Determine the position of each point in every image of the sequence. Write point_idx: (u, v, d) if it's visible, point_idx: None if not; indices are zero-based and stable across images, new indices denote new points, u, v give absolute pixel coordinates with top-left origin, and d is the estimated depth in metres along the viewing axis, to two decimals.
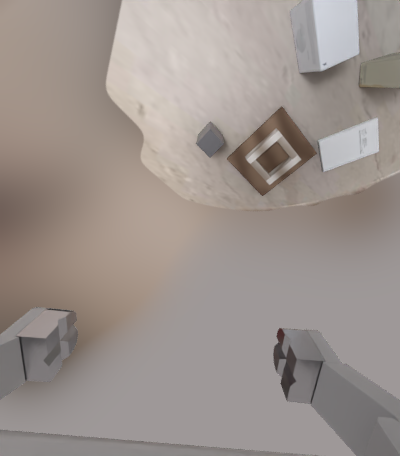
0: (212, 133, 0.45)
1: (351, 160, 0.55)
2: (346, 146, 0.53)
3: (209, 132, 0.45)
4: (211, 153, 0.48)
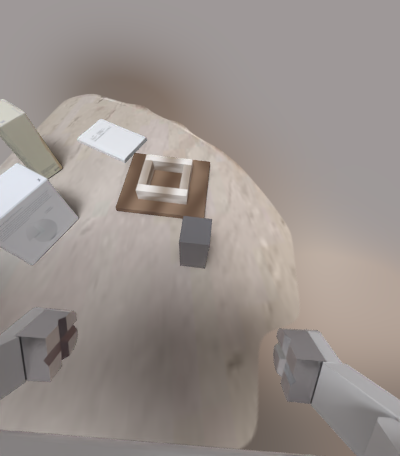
0: (182, 235, 0.30)
1: (121, 128, 0.52)
2: (112, 139, 0.50)
3: (183, 239, 0.30)
4: (205, 220, 0.31)
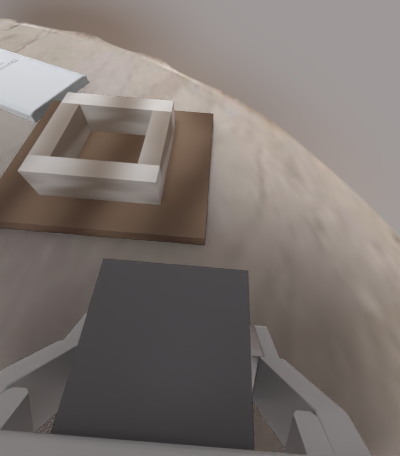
0: (74, 397, 0.05)
1: (37, 61, 0.26)
2: (15, 79, 0.24)
3: (78, 434, 0.04)
4: (216, 282, 0.06)
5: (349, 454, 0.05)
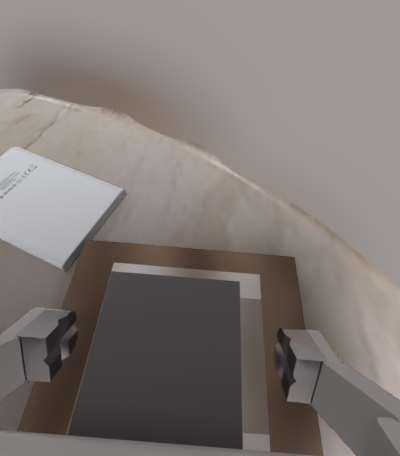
0: (89, 393, 0.06)
1: (61, 167, 0.21)
2: (36, 201, 0.19)
3: (93, 424, 0.05)
4: (212, 292, 0.07)
5: None
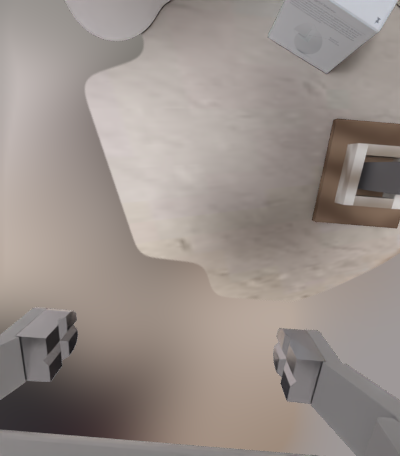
0: None
1: None
2: None
3: None
4: None
5: None
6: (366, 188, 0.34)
